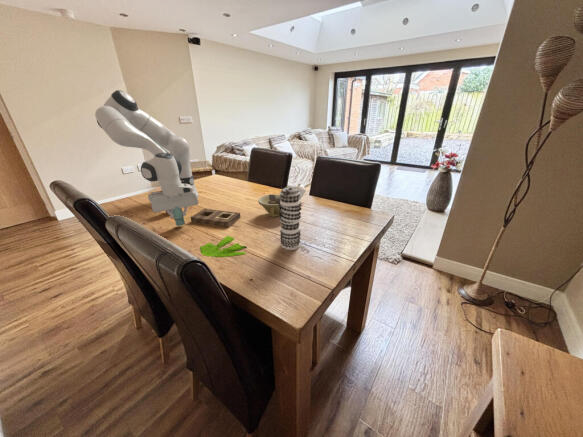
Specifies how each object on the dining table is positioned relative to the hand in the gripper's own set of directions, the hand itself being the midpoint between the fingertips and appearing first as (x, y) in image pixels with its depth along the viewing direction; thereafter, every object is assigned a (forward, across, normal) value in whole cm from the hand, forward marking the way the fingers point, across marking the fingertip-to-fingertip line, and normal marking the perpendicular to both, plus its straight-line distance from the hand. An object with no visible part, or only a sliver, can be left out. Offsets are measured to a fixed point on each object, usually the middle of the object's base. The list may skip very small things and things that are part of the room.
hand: (178, 216), depth 115 cm
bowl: (+6, +48, -10) cm, 49 cm away
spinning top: (+6, +70, +2) cm, 70 cm away
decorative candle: (+6, +40, -42) cm, 58 cm away
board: (+6, +17, -1) cm, 18 cm away
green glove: (+7, +16, -31) cm, 35 cm away
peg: (+4, 0, 0) cm, 4 cm away
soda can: (+6, -2, +22) cm, 23 cm away
